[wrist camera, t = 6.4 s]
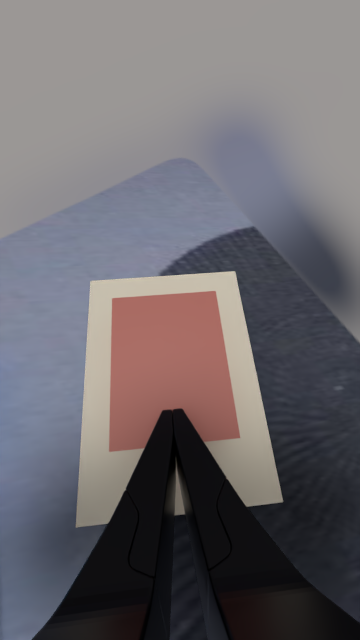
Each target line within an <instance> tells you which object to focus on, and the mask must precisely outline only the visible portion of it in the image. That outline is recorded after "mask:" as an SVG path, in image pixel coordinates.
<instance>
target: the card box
mask: <svg viewBox="0 0 360 640" xmlns="http://www.w3.org/2000/svg"><path fill="white" fill-rule="evenodd" d="M177 408H182V409H183V410H184V411H185V413H186V415H187V416H188V418H189V419H190V421H191V422H192V424H193V426H194V427H195V429H196V430H197V432H198V433H199V435H200V436H201V438H202V440H203V441H204V442H208V441H218V440H227V439H236V438H240V433H239V427H238V421H237V415H236V409H235V403H234V397H233V391H232V385H231V379H230V373H229V367H228V361H227V355H226V349H225V343H224V337H223V331H222V325H221V319H220V313H219V307H218V301H217V295H216V291H207V292H193V293H179V294H164V295H150V296H136V297H122V298H112V326H111V376H110V425H109V452H114V451H123V450H133V449H142V448H145V446H146V444H147V441H148V439H149V437H150V435H151V433H152V431H153V429H154V427H155V424H156V422H157V420H158V418H159V416H160V414H161V412H162V410H167V409H171V410H172V412H173V409H177Z"/></svg>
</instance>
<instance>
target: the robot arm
mask: <svg viewBox="0 0 360 640" xmlns="http://www.w3.org/2000/svg"><path fill="white" fill-rule="evenodd" d="M176 464H177V472H178V478H179V484H180V489H181V495H182V500H183V506H184V511H185V517H186V522H187V528H188V533H189V539H190V544H191V550H192V555H193V561H194V566H195V572H196V577H197V583H198V588H199V594H200V599H201V605H202V610H203V616H204V621H205V627H206V632H207V638H208V640H360V623H359V622H358V621H356V620H355V619H354V618H353V617H351V616H350V615H349V614H347V613H346V612H345V611H344V610H342V609H341V608H340V607H339V606H337V605H336V604H335V603H334V602H332V601H331V600H330V599H328V598H327V597H326V596H325V595H323V594H322V593H321V592H320V591H318V590H317V589H316V588H315V587H314V586H313V585H311V584H310V583H309V582H308V581H307V580H306V579H305V578H304V577H303V576H302V575H301V574H300V572H299V571H298V570H297V569H296V568H295V567H294V566H293V564H292V563H291V562H290V561H289V560H288V558H287V557H286V556H285V555H284V553H283V552H282V551H281V550H280V548H279V547H278V546H277V545H276V543H275V542H274V541H273V540H272V538H271V537H270V536H269V535H268V533H267V532H266V531H265V530H264V528H263V527H262V526H261V525H260V523H259V522H258V521H257V520H256V518H255V517H254V516H253V514H252V513H251V512H250V511H249V509H248V508H247V507H246V505H245V504H244V503H243V501H242V500H241V498H240V497H239V495H238V494H237V492H236V491H235V489H234V488H233V486H232V485H231V483H230V482H229V480H228V479H226V476H225V474H224V472H223V471H222V469H221V468H220V466H219V465H218V463H217V461H216V460H215V458H214V457H213V455H212V454H211V452H210V451H209V449H208V447H207V446H206V444H205V443H204V441H203V440H202V438H201V436H200V435H199V433H198V432H197V430H196V429H195V427H194V426H193V424H192V422H191V421H190V419H189V418H188V416H187V415H186V413H185V411H184V410H183V409H182V408H177V409H173V412H172V410H171V409H167V410H162V412H161V414H160V416H159V418H158V420H157V422H156V424H155V427H154V429H153V431H152V433H151V435H150V437H149V439H148V441H147V444H146V446H145V448H144V450H143V452H142V454H141V456H140V459H139V461H138V463H137V465H136V467H135V469H134V471H133V473H132V476H131V478H130V480H129V482H128V484H127V486H126V490H125V491H124V492H123V495H122V497H121V499H120V501H119V503H118V505H117V507H116V509H115V511H114V513H113V515H112V517H111V519H110V521H109V523H108V524H107V526H106V528H105V530H104V532H103V533H102V535H101V537H100V539H99V540H98V542H97V544H96V545H95V547H94V549H93V550H92V552H91V554H90V556H89V557H88V559H87V561H86V562H85V564H84V566H83V567H82V569H81V571H80V572H79V574H78V576H77V577H76V579H75V581H74V583H73V584H72V586H71V588H70V589H69V591H68V593H67V594H66V596H65V597H64V599H63V601H62V602H61V604H60V605H59V607H58V608H57V610H56V611H55V612H54V614H53V615H52V616H51V618H50V619H49V620H48V622H47V623H46V624H45V625H44V626H43V628H42V629H41V630H40V631H39V632H38V633H37V634H36V635H35V636H34V638H33V639H32V640H169V637H170V613H171V589H172V565H173V541H174V517H175V493H176Z"/></svg>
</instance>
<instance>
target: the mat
mask: <svg viewBox="0 0 360 640" xmlns="http://www.w3.org/2000/svg"><path fill="white" fill-rule="evenodd" d="M207 291H216V295H217V301H218V307H219V313H220V319H221V325H222V331H223V337H224V343H225V349H226V355H227V361H228V367H229V373H230V379H231V385H232V391H233V397H234V403H235V409H236V415H237V421H238V427H239V433H240V438H236V439H227V440H218V441H208V442H204V443H205V444H206V446H207V447H208V449H209V451H210V452H211V454H212V455H213V457H214V458H215V460H216V461H217V463H218V465H219V466H220V468H221V469H222V471H223V472H224V474H225V476H226V479H228V480H229V482H230V483H231V485H232V486H233V488H234V489H235V491H236V492H237V494H238V495H239V497H240V498H241V500H242V501H243V503H244V504H245V505H246V507H248V506H257V505H265V504H273V503H281V502H283V498H282V494H281V489H280V484H279V479H278V475H277V470H276V465H275V460H274V455H273V451H272V446H271V441H270V436H269V432H268V427H267V422H266V417H265V412H264V408H263V403H262V398H261V393H260V389H259V384H258V379H257V374H256V370H255V365H254V360H253V355H252V350H251V346H250V341H249V336H248V331H247V327H246V322H245V317H244V312H243V307H242V303H241V298H240V293H239V288H238V284H237V279H236V274H235V271H233V272H218V273H203V274H188V275H173V276H158V277H143V278H128V279H113V280H98V281H91V283H90V299H89V316H88V332H87V349H86V365H85V382H84V399H83V415H82V432H81V448H80V465H79V482H78V498H77V515H76V528H77V527H85V526H93V525H101V524H108V523H109V521H110V519H111V517H112V515H113V513H114V511H115V509H116V507H117V505H118V503H119V501H120V499H121V497H122V495H123V492H124V491H125V490H126V486H127V484H128V482H129V480H130V478H131V476H132V473H133V471H134V469H135V467H136V465H137V463H138V461H139V459H140V456H141V454H142V452H143V450H144V448H142V449H133V450H123V451H114V452H109V425H110V376H111V326H112V298H122V297H136V296H150V295H164V294H179V293H193V292H207ZM183 514H185V511H184V506H183V500H182V495H181V489H180V484H179V478H178V472H177V464H176V493H175V515H183Z"/></svg>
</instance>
